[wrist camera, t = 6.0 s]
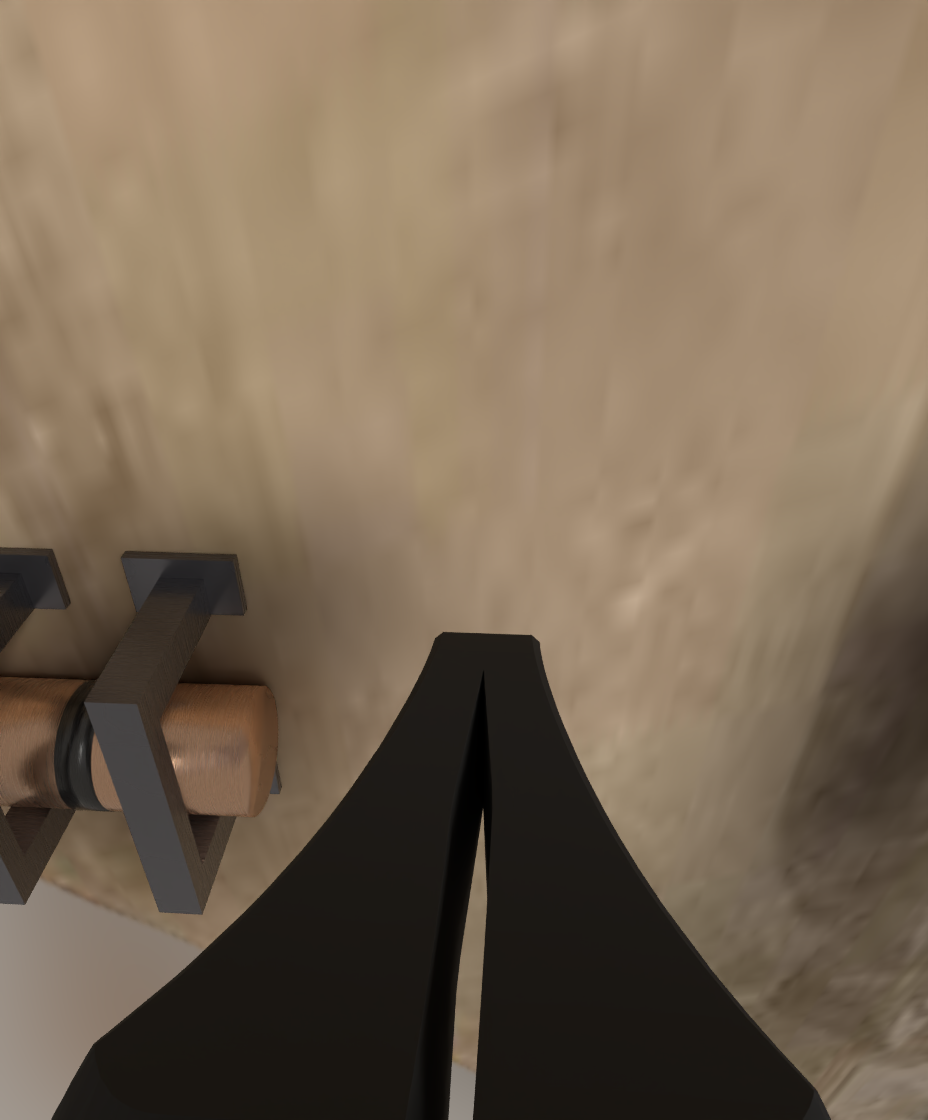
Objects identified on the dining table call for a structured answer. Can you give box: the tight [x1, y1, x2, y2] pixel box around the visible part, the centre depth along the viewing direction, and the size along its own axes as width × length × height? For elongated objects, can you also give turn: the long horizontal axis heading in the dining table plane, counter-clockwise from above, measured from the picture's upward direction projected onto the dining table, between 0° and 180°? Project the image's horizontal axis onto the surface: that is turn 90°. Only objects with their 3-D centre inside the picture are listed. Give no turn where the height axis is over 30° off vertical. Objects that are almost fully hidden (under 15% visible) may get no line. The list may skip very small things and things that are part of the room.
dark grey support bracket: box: [84, 552, 282, 915], centre depth 23 cm, size 3×9×5 cm, turn 0°
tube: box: [0, 677, 278, 817], centre depth 25 cm, size 9×4×4 cm, turn 91°
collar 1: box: [0, 548, 76, 905], centre depth 24 cm, size 3×9×5 cm, turn 1°
